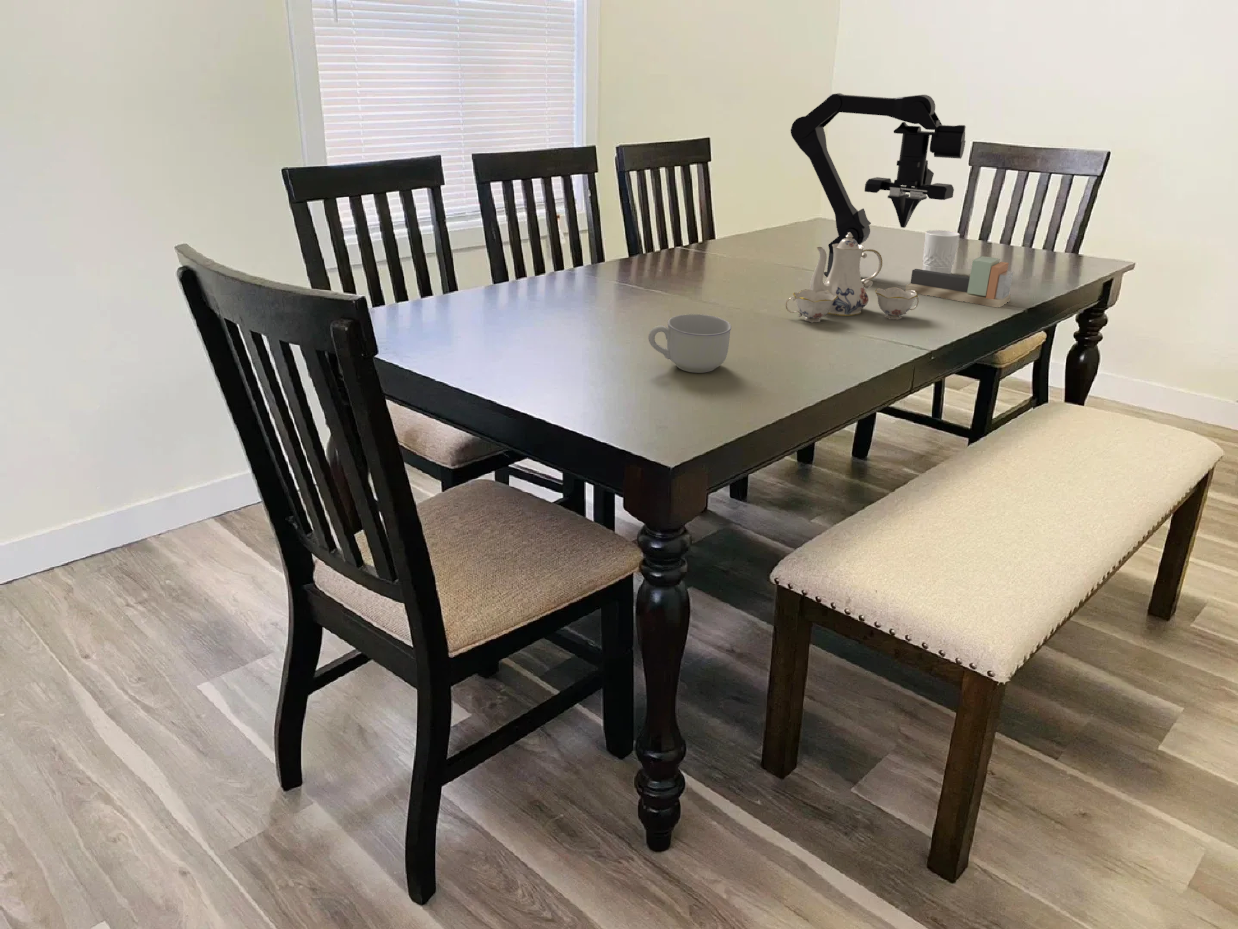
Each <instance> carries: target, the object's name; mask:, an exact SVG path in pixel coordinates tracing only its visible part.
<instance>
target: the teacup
mask: <svg viewBox="0 0 1238 929" xmlns="http://www.w3.org/2000/svg"><path fill="white" fill-rule="evenodd" d="M731 330H732V324H731V322H729V321H727V320H726V319H724V318H722V317H719V316H715V315H712V314H711V315H710V314H705V313H704V314H703V313H702V314H701V313H686V314H683V313H682V314H678V315H674V316H671V317H670V318H669V319H668V320H667V327H666V326H665V325H661V324H659V325H656V326H653V327H652V328H651V329H650V331H649V333H648V342H649V344H650V346H651V347H652V348H653V349H654V350H655V351H656V352H659V353H660V354H662V355H663V356H664V358H665V359H667V360H670V361H671V362H672V363H673V364H674V365H675V367H677V368H678V369H680V370H682V371H684V372H689V373H695V374H697V373H698V374H704V373H710V372H712V371H714V370H715V369H717V368H718V367H719V366H721V365H722V364H723V363H724V362H725V361H726V360H727V356H728V352H729V347H730V338H731V337H730V335H731ZM658 333H663V334H664V336H665V339H666V348H665V347H663V346H660V345H659V344H658V343H657V342H656V340H655V339H656V338H655V337H656V335H657V334H658Z"/></svg>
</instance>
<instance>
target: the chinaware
mask: <svg viewBox="0 0 1238 929" xmlns="http://www.w3.org/2000/svg"><path fill="white" fill-rule="evenodd" d="M852 238H853V236H852V234H851V232H849V233H848V235H846V238H845V239H842V240H841V241H840V243H839V244H833V245H832V246H833V252H834V257H833V264H832V268H831V271H830V273H829V275H828V276H826V277H827V278H826V279H825V281H824V276H825V275H824V272H825V270H826V264H827V253H826V250H825V249H824V248H823V247H821V246H817V247H816V249H817V251H818V252H819V253H818V254H819V257H818V259H817V260H818V261H817V264H816V265H815V268H814V271H813V273H812V275H811V278H810V282H809V289H802V290H800V291H799V292H792V296H791V297H789V298H788V299H787V300H786V302H785V309H786V310H787V312H788V313H792V314H794V313H798V315H797V317H799V318H801V317H802V316H804V321H805V322H810V323H821V318H823V317H825V316H826V315H827V314H828V315H833V316H842V317H843V316H845V317H848V316H849V317H850V316H856V315H860V314H861V313H862V309H863V308H865V307H866V306H867V305H868V303H869V295H868V294H867V291H866V289H870V288H871V287H872V286H873V284H874V283H873V281H872V279H874V278H876V277H877V276H878V274H880V272H881V270H882V267H883V258H882V255H881V253H880V252H879V251H877V250H875V249H874V248H873V249H872V248H865V246H864V245H861V244H860V245H859V244H858V243H857V241H856V240H855V239H852ZM866 252H871V253H873V254H875V255H876V256H877V258H878V266H877V268H876V270H875V272H874V273H873V274H872V275H870V276H868V277H866V278H863V279H862V276H861V268H860V266H861V259H866V258H868V254H867V253H866ZM874 292H875V296H876V297H877V298H876V299H877V304H878V306H879V307H878V308H879V309H880V311H881V312H883V313H884V314H885V315H884V316H883V318H886V319H888V320H897V321H899V320H900V319H903V317H902V315H907V313H908V312H909V311H913V310H915V309H916V308H917V307H918V305H919V303H920V299H919V294H917V292H916V291H914V290H908V291H905V290H904V289H902V288H900V287H896V286H892V287H887V288H885V289H883V288H876V289H875V291H874ZM791 299H792V301H793V302H794V301H796V307H797V309H798V310H795V311H791V310H790V309H789V307H788V303H789V301H790V300H791ZM915 300H916V303H915V305H914V306H913V304H914V302H915ZM912 306H913V307H912ZM804 321H803V322H804Z"/></svg>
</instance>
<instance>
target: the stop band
mask: <svg viewBox="0 0 1238 929" xmlns="http://www.w3.org/2000/svg"><path fill="white" fill-rule="evenodd" d="M1009 264H1010V263H1009V262H1004V261H1000V262H999V263H998V264H996V265H994V266H992V267H991V273H990V278H989V284H988V289H987V295H986V298H988V299H995V296H996V291H997V286H998V280H999V275H1000V274H1002V273H1004V272H1006V271H1009V270H1008V269H1009Z"/></svg>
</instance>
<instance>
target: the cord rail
mask: <svg viewBox="0 0 1238 929" xmlns="http://www.w3.org/2000/svg"><path fill="white" fill-rule="evenodd" d="M969 279H970V276H965V275H958V274H954V273H953V274H952V273H951V274H947V273H940V272H934V271H927V270H922V269H919V268H914V269H912V270H911V277H910V283H912V284H918V285H924V286H930V287H936V288H942V289H948V290H955V291H961V292H967V291H968V285H969Z"/></svg>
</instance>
